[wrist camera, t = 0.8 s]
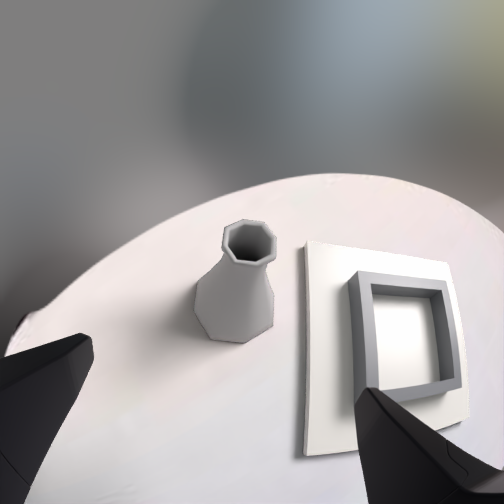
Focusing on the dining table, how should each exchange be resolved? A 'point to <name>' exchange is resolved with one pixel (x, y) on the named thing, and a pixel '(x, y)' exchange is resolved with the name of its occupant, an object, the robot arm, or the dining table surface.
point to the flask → (238, 285)
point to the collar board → (379, 341)
